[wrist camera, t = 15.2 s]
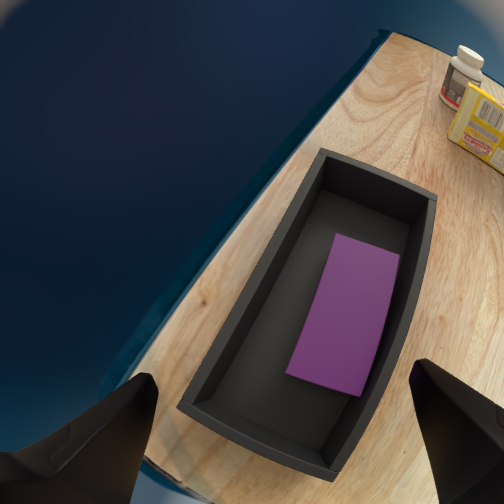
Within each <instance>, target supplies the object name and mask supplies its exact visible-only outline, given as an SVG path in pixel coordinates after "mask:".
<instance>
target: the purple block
mask: <svg viewBox="0 0 504 504" xmlns="http://www.w3.org/2000/svg"><path fill="white" fill-rule="evenodd" d="M399 257H400V255H398V254H395V253H392V252H390V251H387V250H384V249H381V248H378V247H375V246H373V245H370V244H367V243H364V242H361V241H358V240H355V239H352V238H349V237H346V236H343V235H340V234H337V233H336V234H335V236H334V240H333V243H332V246H331V249H330V252H329V255H328V258H327V261H326V264H325V267H324V270H323V273H322V276H321V279H320V282H319V285H318V288H317V291H316V294H315V296H314V299H313V302H312V305H311V307H310V310H309V313H308V316H307V318H306V321H305V323H304V326H303V329H302V331H301V334H300V336H299V339H298V341H297V344H296V346H295V349H294V351H293V354H292V356H291V359H290V361H289V364H288V366H287V368H286V371H285V373H286V374H288V375H291V376H294V377H297V378H300V379H303V380H305V381H308V382H311V383H314V384H317V385H320V386H323V387H327V388H330V389H333V390H336V391H339V392H343V393H346V394H350V395H353V396H357V397H360V396H361V394H362V391H363V389H364V386H365V383H366V380H367V378H368V375H369V372H370V369H371V366H372V363H373V360H374V357H375V354H376V351H377V348H378V345H379V341H380V338H381V335H382V331H383V328H384V324H385V320H386V317H387V313H388V309H389V305H390V301H391V296H392V292H393V288H394V283H395V278H396V273H397V268H398V263H399Z"/></svg>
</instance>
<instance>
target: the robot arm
mask: <svg viewBox="0 0 504 504" xmlns="http://www.w3.org/2000/svg"><path fill="white" fill-rule="evenodd" d="M409 385H410V389H411V393H412V398H413V402H414V407H415V412H416V416H417V420H418V423H419V427H420V430H421V433H422V436H423V440H424V443H425V446H426V450H427V453H428V457H429V461H430V465H431V469H432V473H433V477H434V481H435V485H436V490H437V494H438V499H439V504H504V409H503V408H502V407H500V406H499V405H497V404H495V403H494V402H493V401H491V400H490V399H488V398H487V397H485V396H483V395H482V394H480V393H479V392H477V391H476V390H474V389H473V388H471V387H470V386H468V385H467V384H465V383H464V382H462V381H461V380H459V379H458V378H456V377H454V376H453V375H451V374H450V373H448V372H447V371H445V370H444V369H442V368H441V367H439V366H438V365H436V364H434V363H433V362H431V361H430V360H428V359H426V358H424V359H419V360H416V361H415V362H414V365H413V368H412V371H411V373H410V376H409ZM158 394H159V392H158V388H157V385H156V383H155V381H154V379H153V376H152V375H151V374H149V373H142V372H141V373H138V374H137V375H136V376H134V377H133V378H131V379H130V380H129V381H127V382H126V383H125V384H123V385H122V386H120V387H119V388H118V389H116V390H115V391H113V392H112V393H111V394H109V395H108V396H106V397H105V398H104V399H102V400H101V401H99V402H98V403H96V404H95V405H94V406H92V407H91V408H89V409H88V410H87V411H85V412H84V413H82V414H81V415H79V416H78V417H76V418H75V419H73V420H72V421H71V422H70V423H67V424H66V425H65V426H63V427H62V428H60V429H58V430H57V431H55V432H54V433H52V434H50V435H49V436H47V437H45V438H43V439H41V440H39V441H37V442H35V443H33V444H31V445H29V446H28V447H26V448H23V449H21V450H19V451H16V452H0V504H129V503H130V500H131V496H132V493H133V489H134V486H135V482H136V479H137V476H138V472H139V469H140V466H141V462H142V459H143V456H144V452H145V449H146V446H147V443H148V440H149V436H150V433H151V430H152V425H153V420H154V415H155V410H156V405H157V400H158Z"/></svg>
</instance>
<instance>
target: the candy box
mask: <svg viewBox="0 0 504 504" xmlns="http://www.w3.org/2000/svg"><path fill="white" fill-rule="evenodd" d="M448 139H449V140H451V141H453V142H455V143H457V144H458V145H460V146H461V147H463V148H465V149H466V150H468V151H470V152H471V153H473V154H474V155H476V156H477V157H479V158H480V159H482V160H483V161H485V162H486V163H488V164H489V165H491V166H492V167H493V168H495V169H496V170H498V171H499V172H500V173H502V174H503V175H504V104H503V103H501V102H500V101H499V100H497V99H496V98H494V97H493V96H491V95H490V94H488V93H486V92H485V91H483V90H482V89H480V88H478V87H477V86H475V85H473V84H472V83H470V82H468V84H467V87H466V90H465V93H464V95H463V98H462V101H461V103H460V106H459V108H458V111H457V113H456V115H455V118H454V120H453V122H452V125H451V127H450V129H449V131H448Z"/></svg>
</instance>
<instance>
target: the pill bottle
mask: <svg viewBox="0 0 504 504" xmlns="http://www.w3.org/2000/svg"><path fill="white" fill-rule="evenodd" d="M457 54H458V57H456V56H455V57H452V58H451V60H450V63H449V66H448V70H447V73H446V76H445V79H444V82H443V85H442V88H441V91H440V97H441V99H442V100H443V101H444V102H445V103H446V104H447V105H448V106H449V107H451V108H452V109H454V110H456V111H458V108H459V106H460V103H461V101H462V98H463V95H464V93H465V90H466V87H467V84H468V82H470V83H472V84H473V85H475V86H477V87H478V88H479V87H480V85H481V83H482V80H483V75H482V73H481V71H480V68H482V66H483V62H484V60H483V58H482V57H481V56H479V55H478V54H477V53H475V52H474V51H472V50H470V49H468V48H467V47H464V46H459V47H458V50H457Z"/></svg>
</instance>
